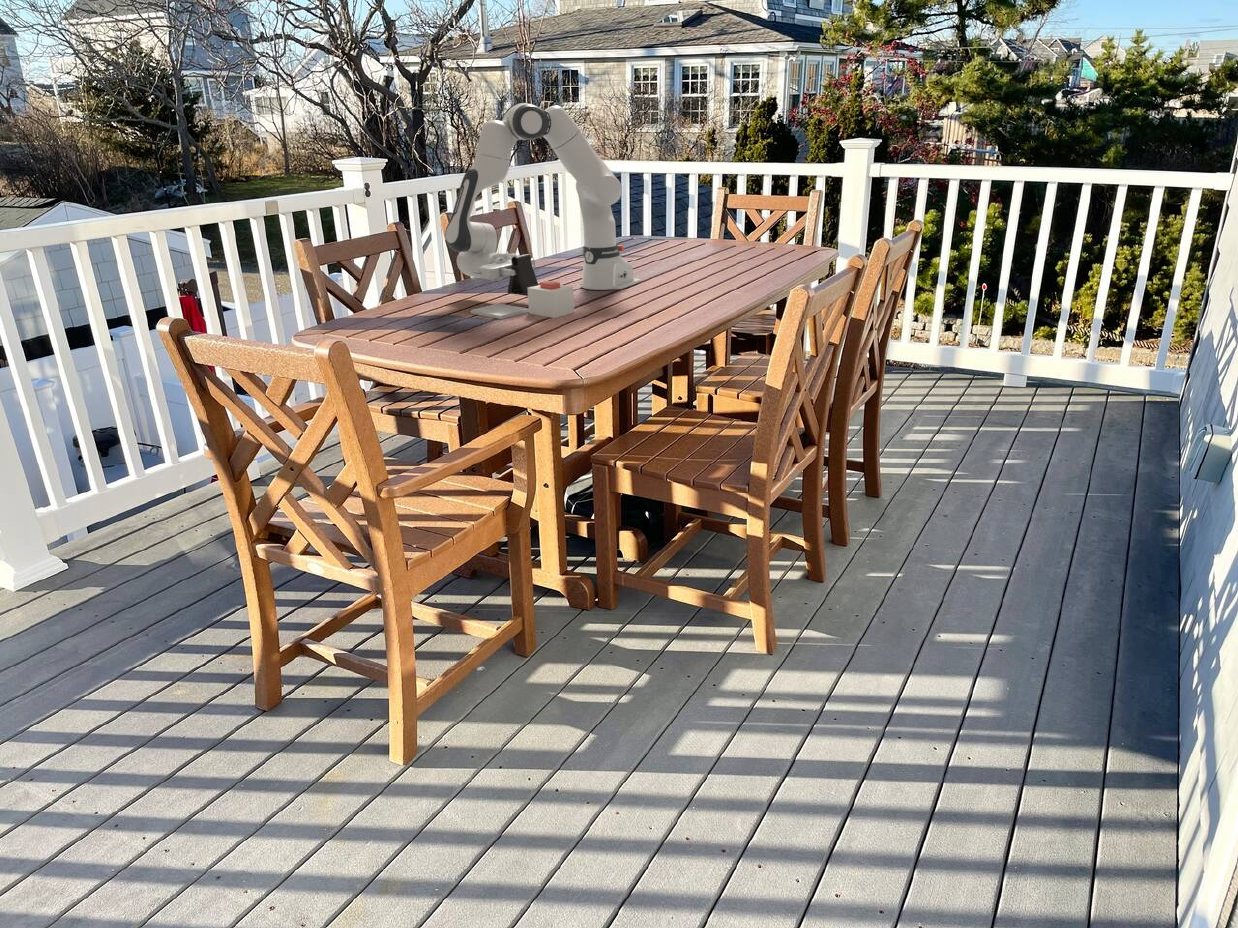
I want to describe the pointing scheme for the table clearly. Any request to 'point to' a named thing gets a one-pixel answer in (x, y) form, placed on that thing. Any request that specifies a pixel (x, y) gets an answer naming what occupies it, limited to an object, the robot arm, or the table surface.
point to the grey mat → (499, 311)
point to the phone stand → (522, 275)
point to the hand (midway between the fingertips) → (524, 270)
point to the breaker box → (551, 301)
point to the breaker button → (550, 285)
